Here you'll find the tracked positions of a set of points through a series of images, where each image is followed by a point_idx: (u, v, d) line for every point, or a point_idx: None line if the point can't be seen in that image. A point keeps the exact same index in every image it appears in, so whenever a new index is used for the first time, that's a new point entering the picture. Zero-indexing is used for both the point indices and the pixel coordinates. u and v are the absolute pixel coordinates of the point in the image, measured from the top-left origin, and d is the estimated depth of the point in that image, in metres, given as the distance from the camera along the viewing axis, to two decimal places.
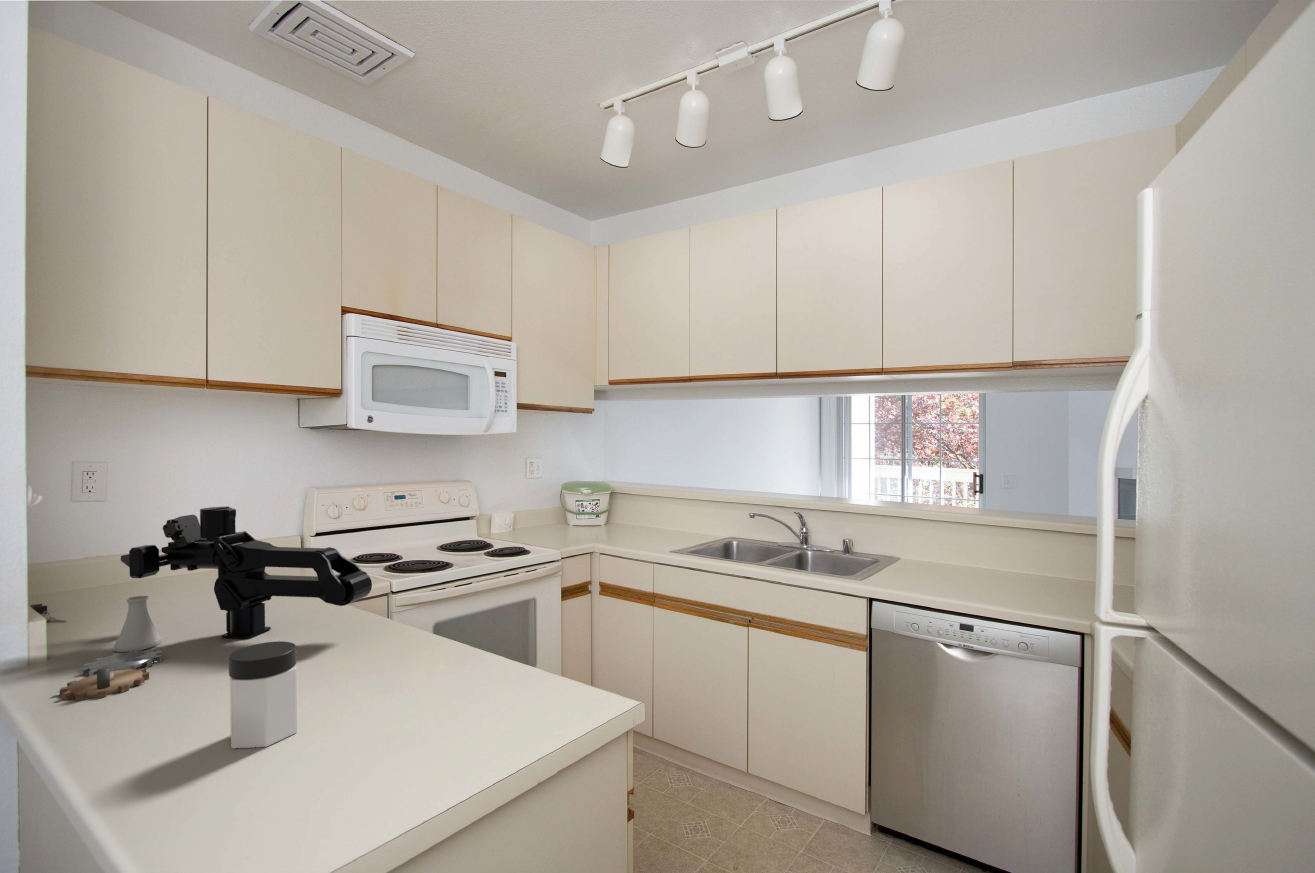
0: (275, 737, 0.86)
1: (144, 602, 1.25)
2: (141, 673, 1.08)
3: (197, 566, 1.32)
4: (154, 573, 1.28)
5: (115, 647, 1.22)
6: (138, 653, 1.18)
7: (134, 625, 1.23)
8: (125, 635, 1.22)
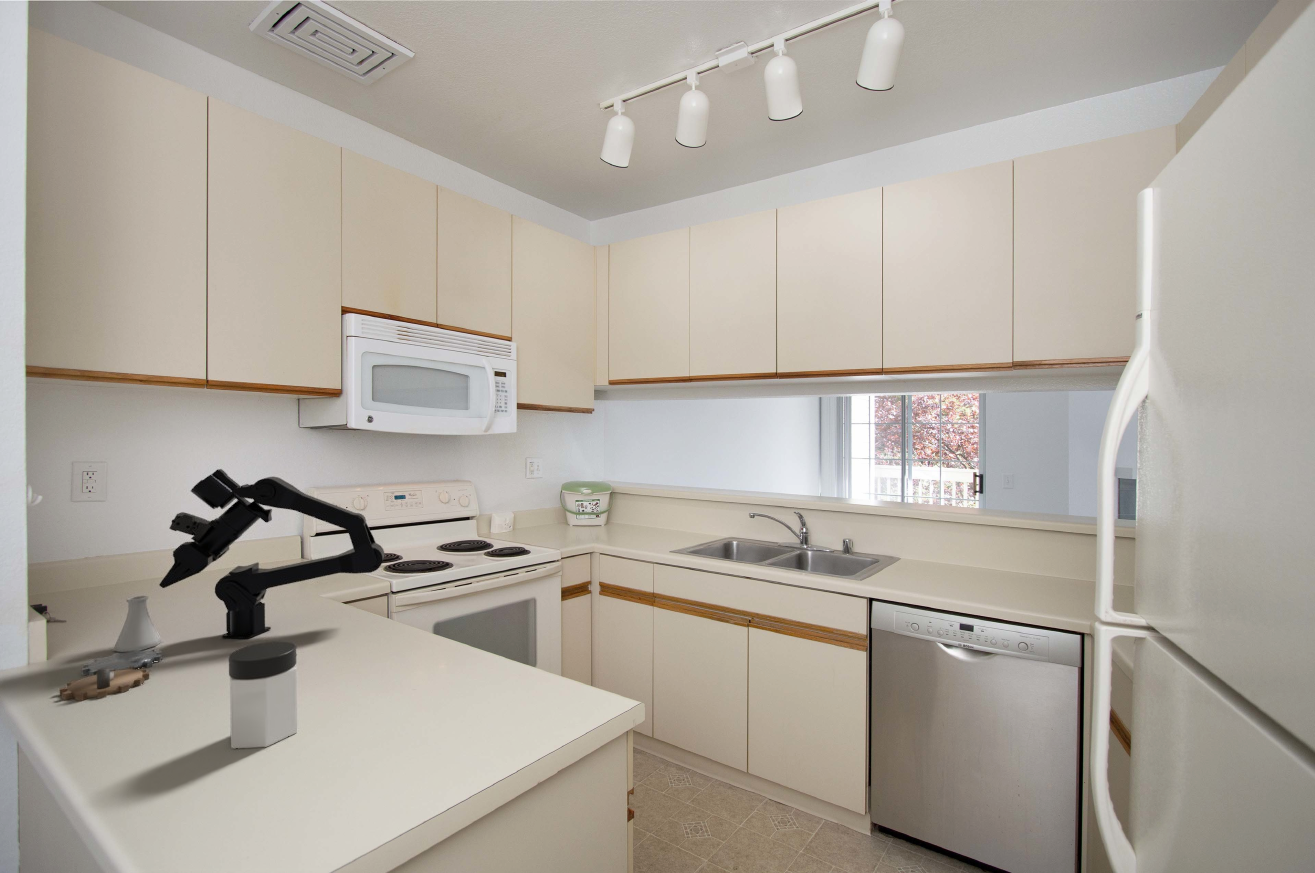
0: (275, 737, 0.86)
1: (144, 602, 1.25)
2: (141, 673, 1.08)
3: (238, 531, 1.30)
4: (211, 559, 1.25)
5: (115, 647, 1.22)
6: (138, 653, 1.18)
7: (134, 625, 1.23)
8: (125, 635, 1.22)
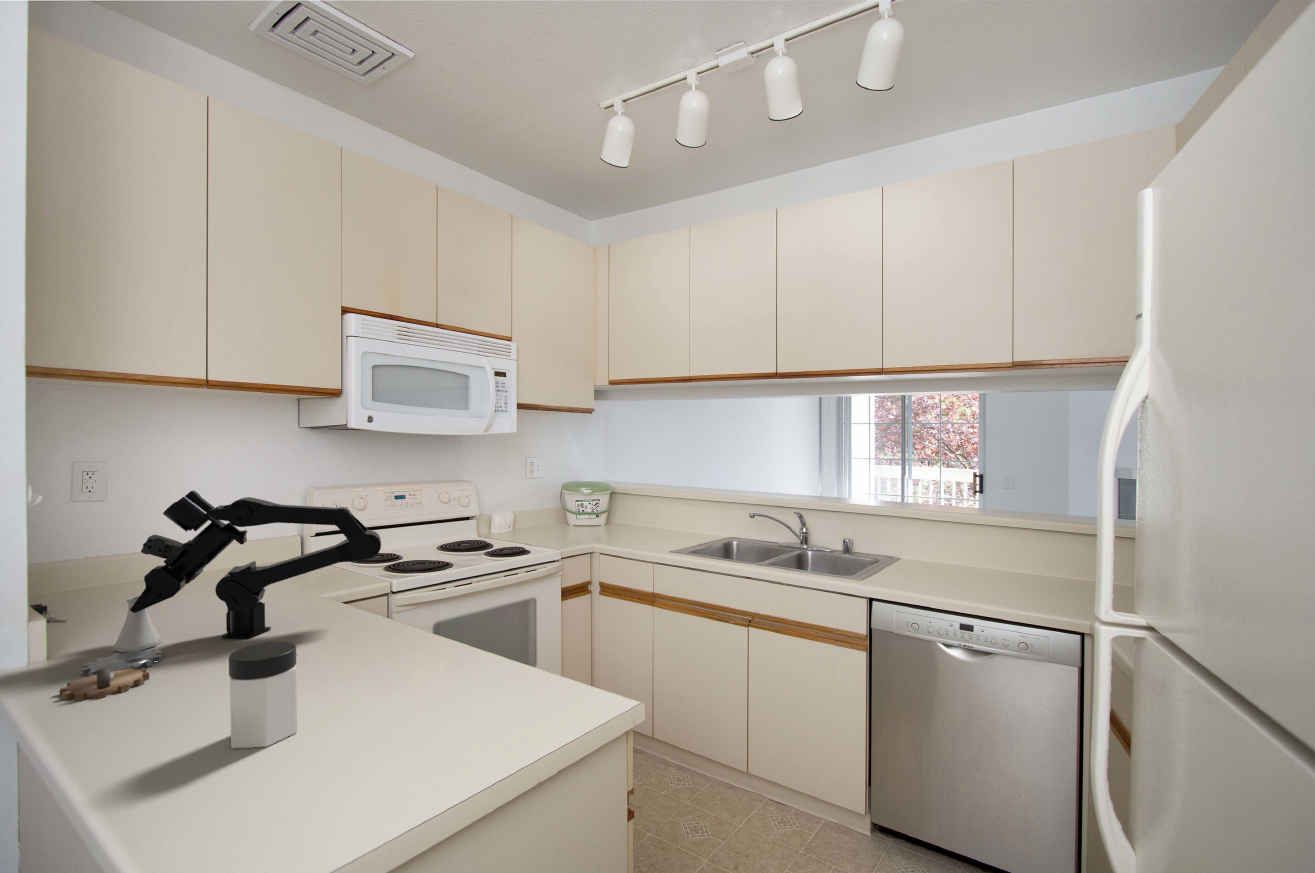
0: (275, 737, 0.86)
1: None
2: (141, 673, 1.08)
3: (212, 554, 1.28)
4: (184, 583, 1.23)
5: (115, 647, 1.22)
6: (138, 653, 1.18)
7: (134, 625, 1.23)
8: (125, 635, 1.22)
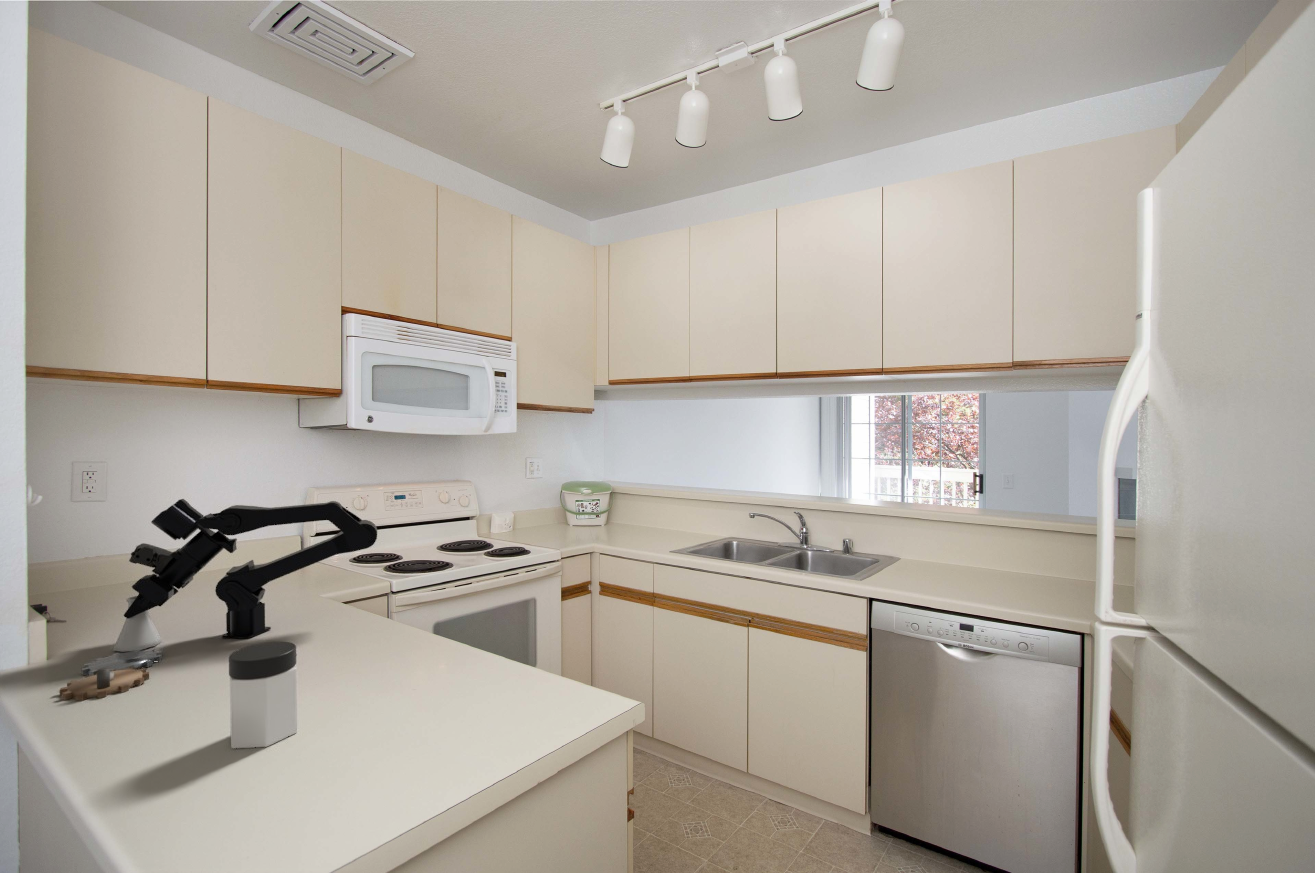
0: (275, 737, 0.86)
1: None
2: (141, 673, 1.08)
3: (201, 563, 1.27)
4: (172, 593, 1.22)
5: (115, 647, 1.22)
6: (138, 653, 1.18)
7: (134, 625, 1.23)
8: (125, 635, 1.22)
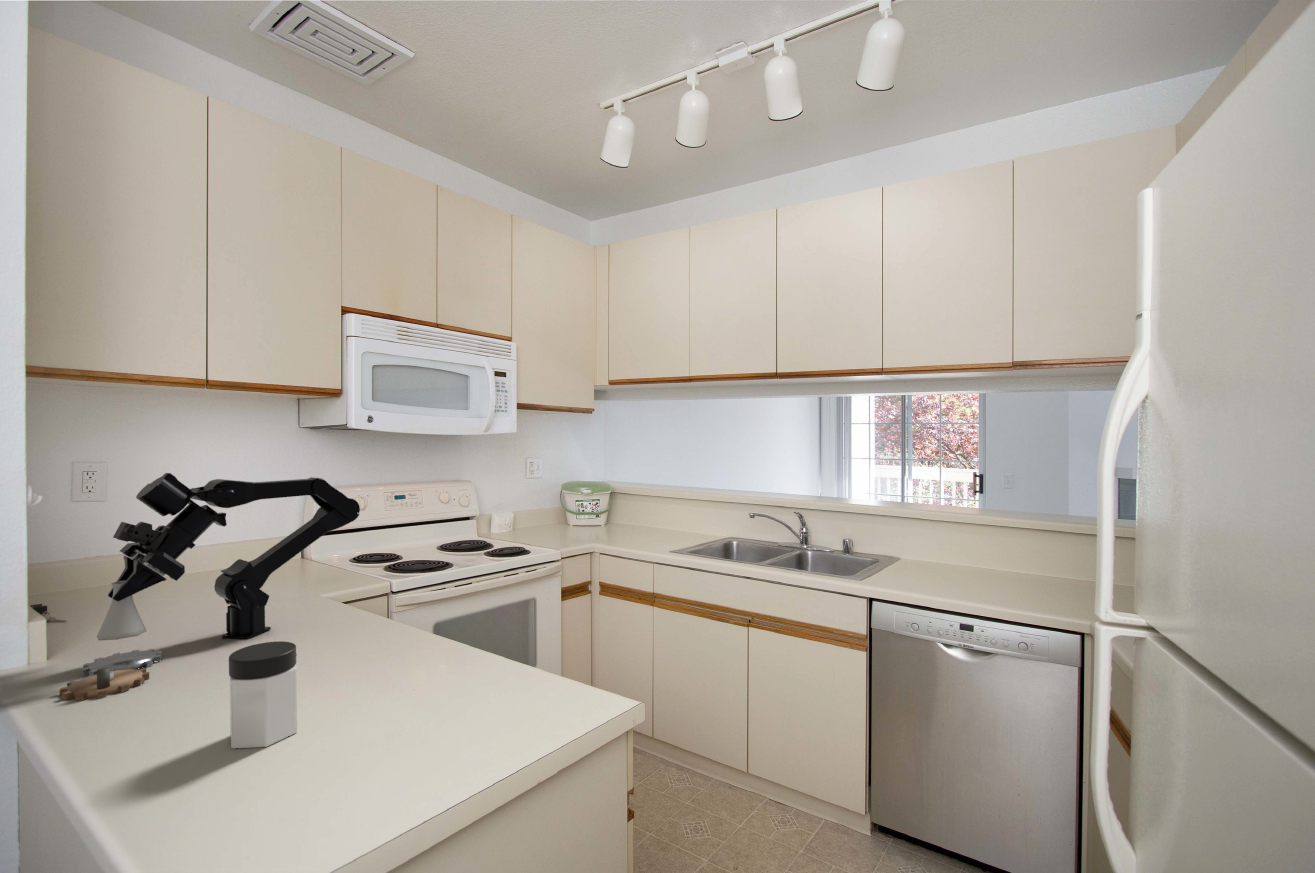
0: (275, 737, 0.86)
1: None
2: (141, 673, 1.08)
3: (195, 537, 1.23)
4: None
5: (102, 636, 1.12)
6: (138, 653, 1.18)
7: (125, 611, 1.15)
8: (115, 622, 1.14)
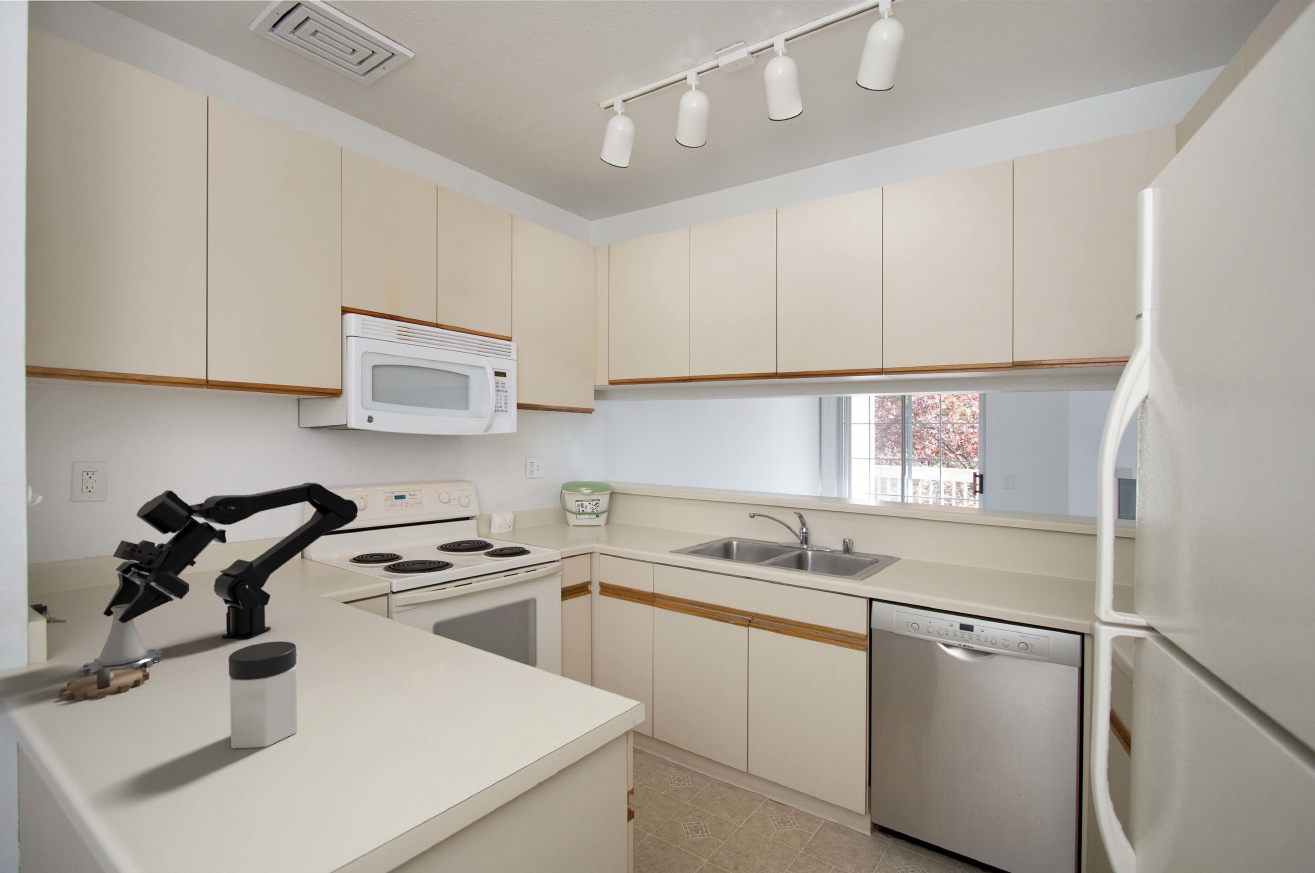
0: (275, 737, 0.86)
1: None
2: (141, 673, 1.08)
3: (196, 555, 1.23)
4: None
5: (105, 662, 1.11)
6: None
7: (127, 635, 1.14)
8: (118, 647, 1.12)
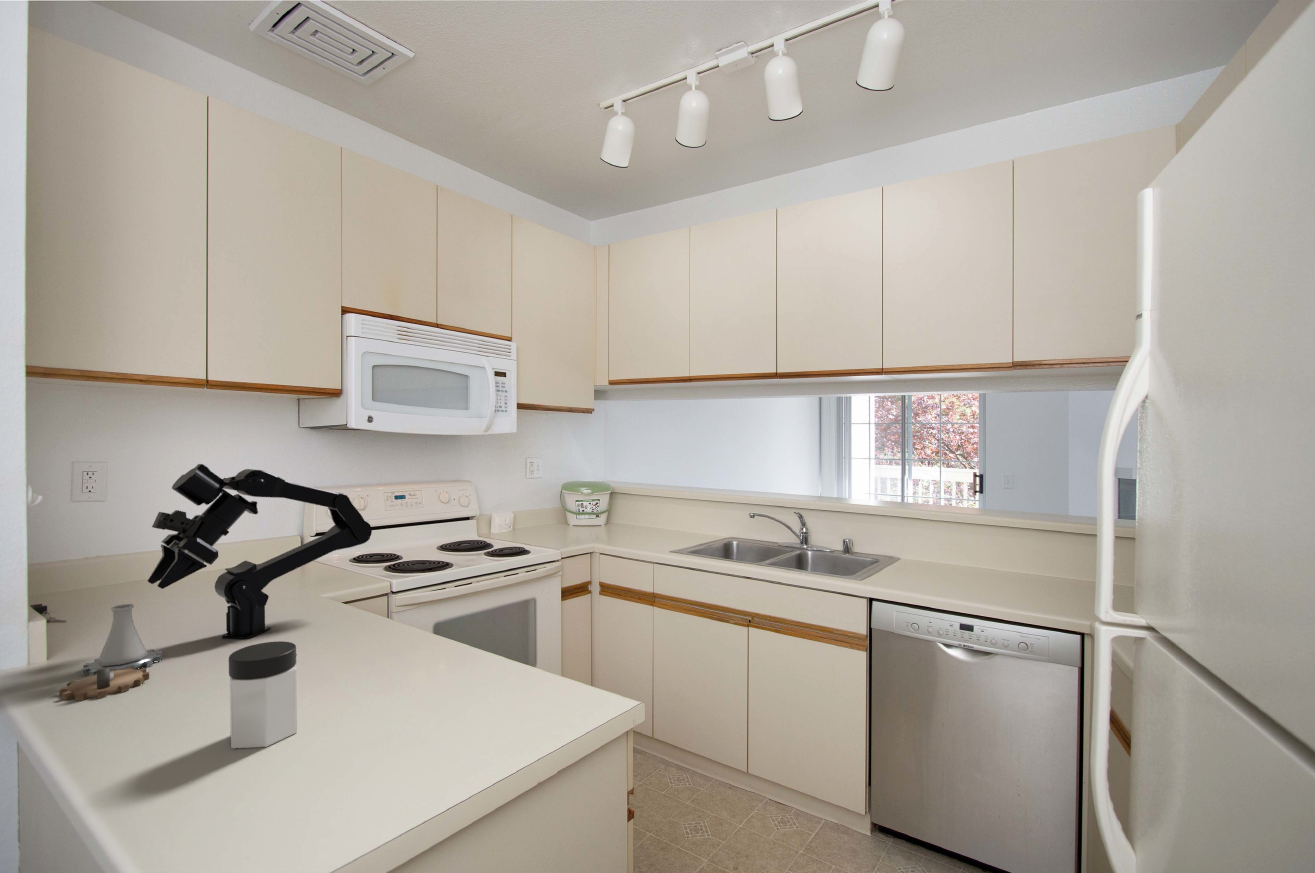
0: (275, 737, 0.86)
1: (131, 610, 1.15)
2: (141, 673, 1.08)
3: (229, 525, 1.28)
4: None
5: (105, 662, 1.11)
6: None
7: (127, 635, 1.14)
8: (118, 647, 1.12)
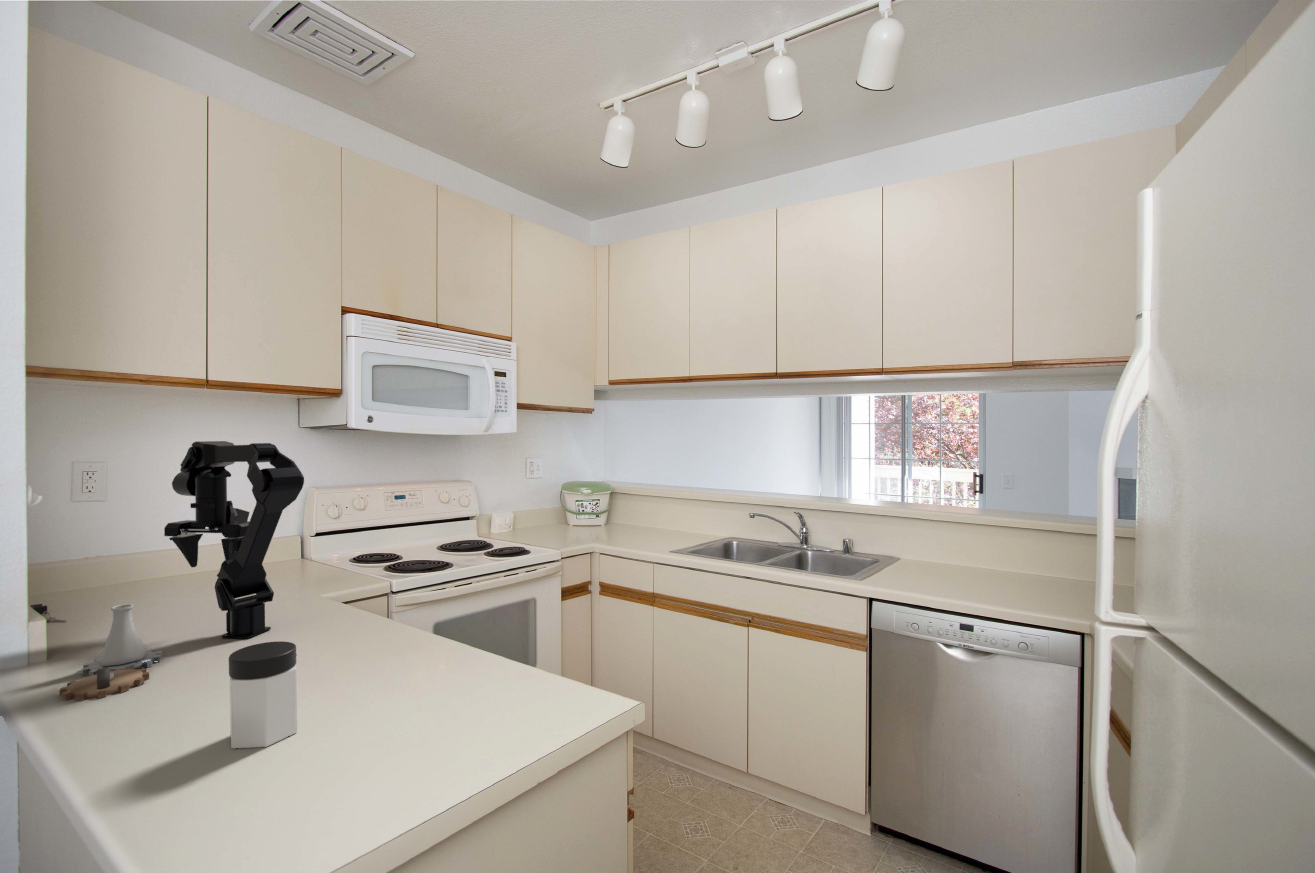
0: (275, 737, 0.86)
1: (131, 610, 1.15)
2: (141, 673, 1.08)
3: (195, 498, 1.36)
4: (176, 526, 1.36)
5: (105, 662, 1.11)
6: None
7: (127, 635, 1.14)
8: (118, 647, 1.12)
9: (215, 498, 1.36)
